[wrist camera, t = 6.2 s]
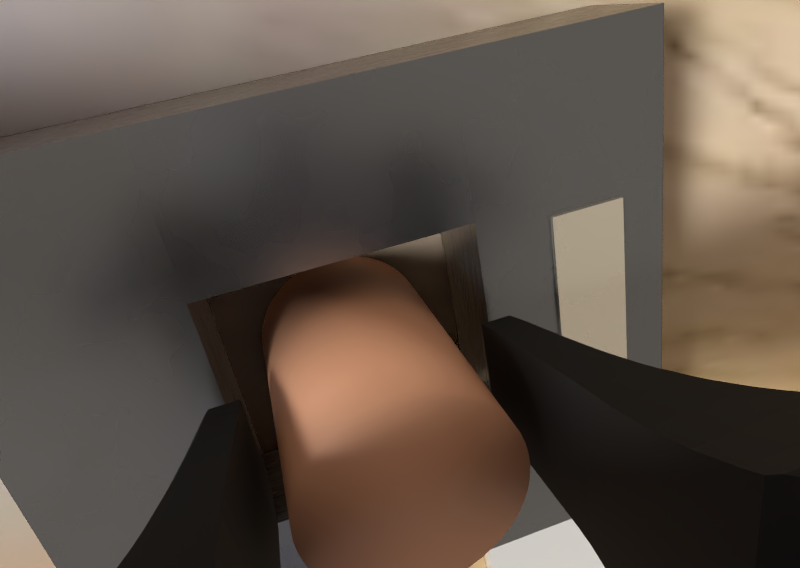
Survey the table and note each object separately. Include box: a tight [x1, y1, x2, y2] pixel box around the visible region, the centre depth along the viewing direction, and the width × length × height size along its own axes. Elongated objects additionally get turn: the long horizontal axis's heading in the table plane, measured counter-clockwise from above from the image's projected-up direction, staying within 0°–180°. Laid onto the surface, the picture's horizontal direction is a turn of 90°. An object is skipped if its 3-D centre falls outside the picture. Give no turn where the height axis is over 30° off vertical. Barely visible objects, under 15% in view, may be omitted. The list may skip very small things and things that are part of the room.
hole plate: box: [0, 3, 664, 568], centre depth 14 cm, size 12×14×3 cm
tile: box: [485, 519, 605, 568], centre depth 20 cm, size 7×7×1 cm
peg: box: [262, 256, 530, 568], centre depth 12 cm, size 4×4×6 cm
